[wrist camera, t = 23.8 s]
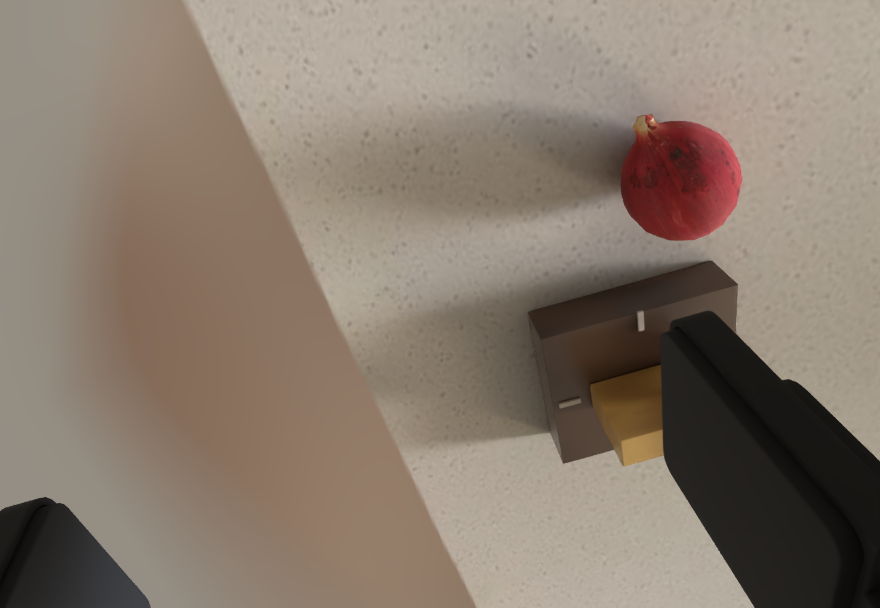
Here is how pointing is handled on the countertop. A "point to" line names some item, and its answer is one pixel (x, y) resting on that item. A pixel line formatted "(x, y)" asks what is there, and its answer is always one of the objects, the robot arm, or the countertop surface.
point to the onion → (679, 179)
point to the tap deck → (614, 344)
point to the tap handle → (631, 414)
